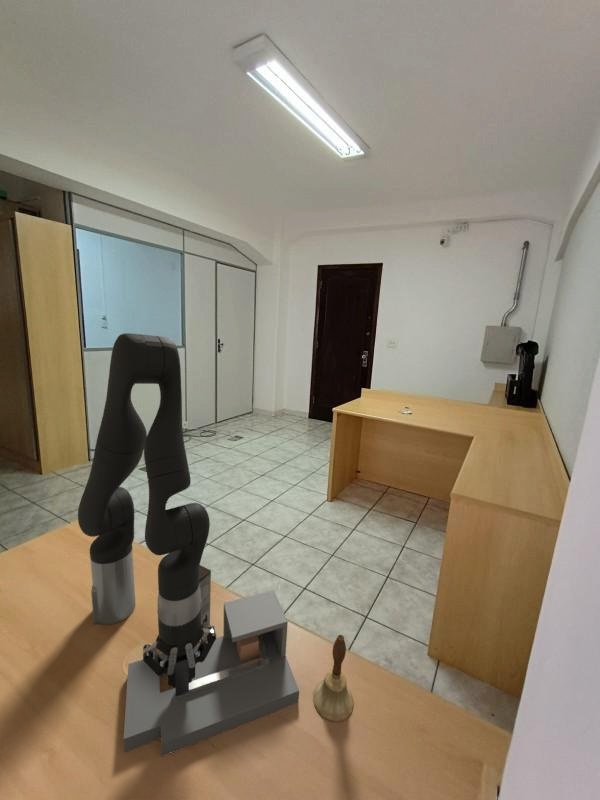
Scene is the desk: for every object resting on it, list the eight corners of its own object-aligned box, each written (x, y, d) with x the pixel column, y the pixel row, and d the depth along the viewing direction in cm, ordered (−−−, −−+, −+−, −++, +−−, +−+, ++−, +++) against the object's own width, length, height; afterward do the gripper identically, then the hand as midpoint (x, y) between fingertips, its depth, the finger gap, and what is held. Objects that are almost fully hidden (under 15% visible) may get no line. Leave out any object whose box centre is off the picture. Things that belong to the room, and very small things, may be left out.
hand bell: (357, 689, 75) (364, 627, 71) (347, 730, 67) (355, 663, 63) (320, 673, 77) (326, 613, 74) (307, 710, 70) (312, 645, 66)
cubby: (123, 772, 59) (119, 716, 56) (129, 675, 75) (126, 627, 72) (298, 702, 71) (302, 653, 69) (271, 631, 87) (273, 590, 84)
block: (240, 661, 76) (240, 646, 75) (236, 645, 79) (236, 631, 78) (258, 655, 77) (258, 640, 77) (253, 640, 81) (253, 626, 80)
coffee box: (165, 627, 86) (163, 571, 83) (184, 609, 92) (183, 555, 88) (192, 644, 82) (192, 586, 79) (211, 624, 88) (211, 569, 84)
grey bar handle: (175, 701, 67) (174, 663, 65) (173, 663, 75) (172, 627, 72) (269, 668, 75) (271, 633, 73) (258, 636, 82) (259, 603, 80)
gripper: (214, 583, 70) (214, 653, 74) (138, 601, 65) (142, 675, 69) (221, 612, 64) (220, 687, 68) (137, 635, 58) (142, 715, 62)
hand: (181, 680), depth 68 cm, fingers closed on grey bar handle, 2 cm apart
